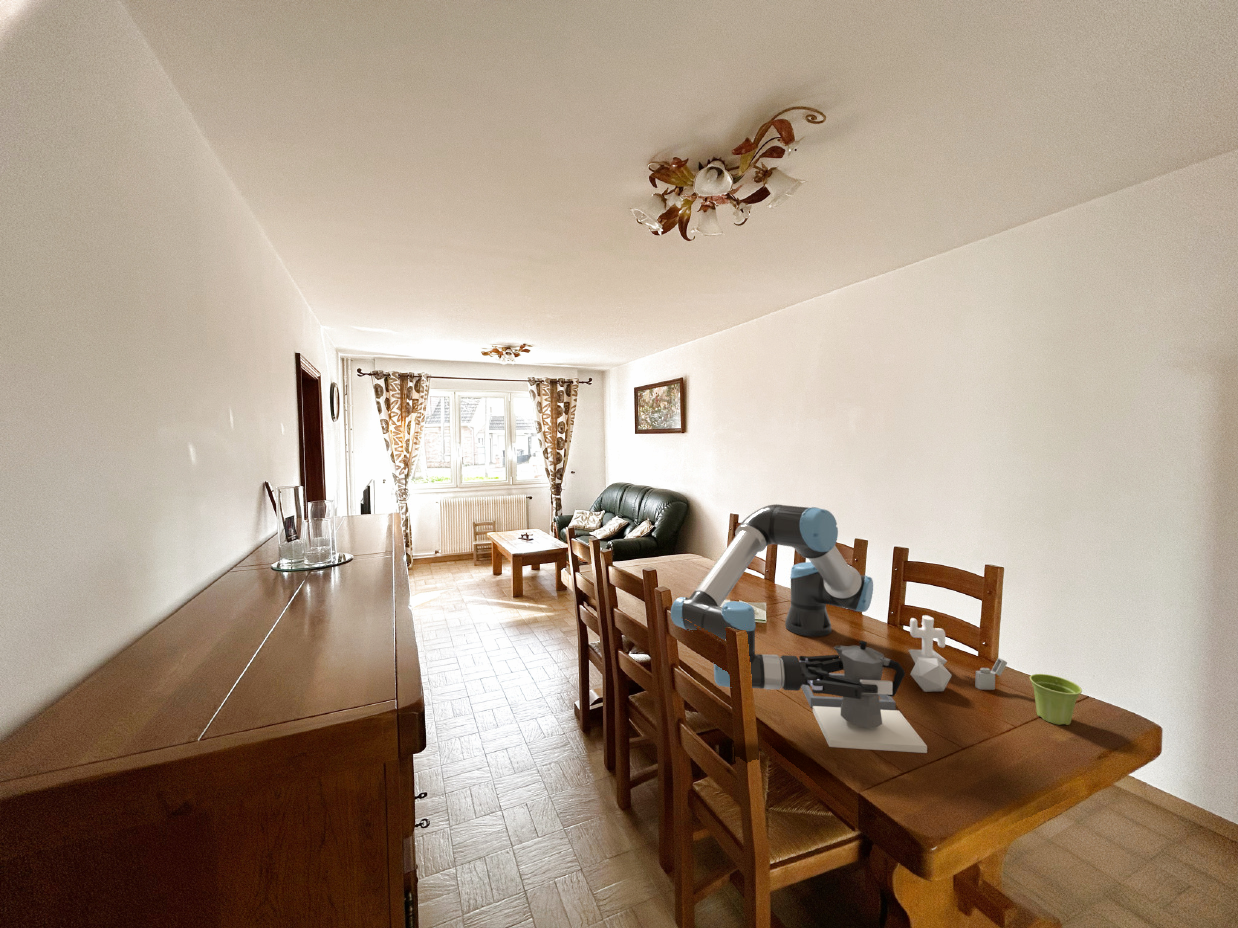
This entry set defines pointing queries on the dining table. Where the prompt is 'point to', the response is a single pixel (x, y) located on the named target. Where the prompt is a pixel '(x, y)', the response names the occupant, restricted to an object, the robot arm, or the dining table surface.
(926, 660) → the die
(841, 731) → the trivet
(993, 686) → the lighter
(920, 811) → the dining table surface
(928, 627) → the figurine
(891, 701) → the rimmed stand
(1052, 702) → the plant pot
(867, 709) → the coffeepot
